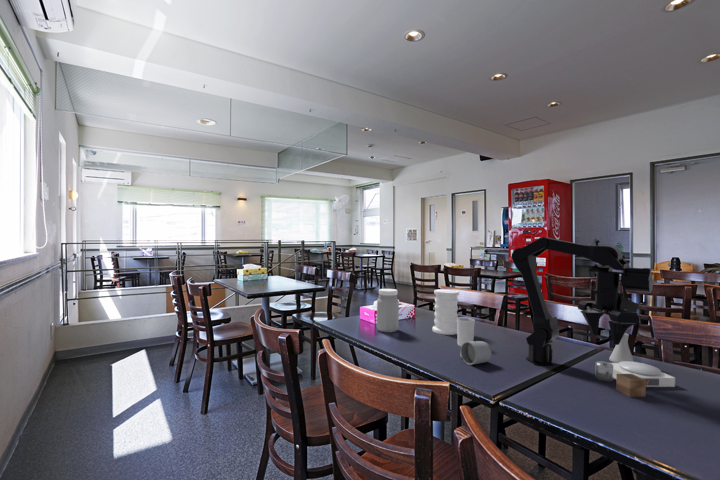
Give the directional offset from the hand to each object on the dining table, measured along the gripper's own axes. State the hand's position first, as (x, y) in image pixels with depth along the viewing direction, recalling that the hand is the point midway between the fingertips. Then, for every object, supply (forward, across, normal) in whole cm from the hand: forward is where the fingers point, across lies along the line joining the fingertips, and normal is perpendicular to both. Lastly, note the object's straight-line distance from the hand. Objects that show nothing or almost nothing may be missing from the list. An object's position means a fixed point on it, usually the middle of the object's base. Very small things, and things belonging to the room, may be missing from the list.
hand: (605, 339), depth 106 cm
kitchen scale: (+12, +1, -10) cm, 16 cm away
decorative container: (+13, +52, +35) cm, 64 cm away
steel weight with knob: (+12, 0, 0) cm, 12 cm away
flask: (+12, +15, -17) cm, 25 cm away
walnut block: (+12, -10, -1) cm, 15 cm away
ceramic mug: (+13, +13, +35) cm, 40 cm away
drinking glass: (+13, +32, +32) cm, 47 cm away
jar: (+13, +52, +61) cm, 81 cm away
